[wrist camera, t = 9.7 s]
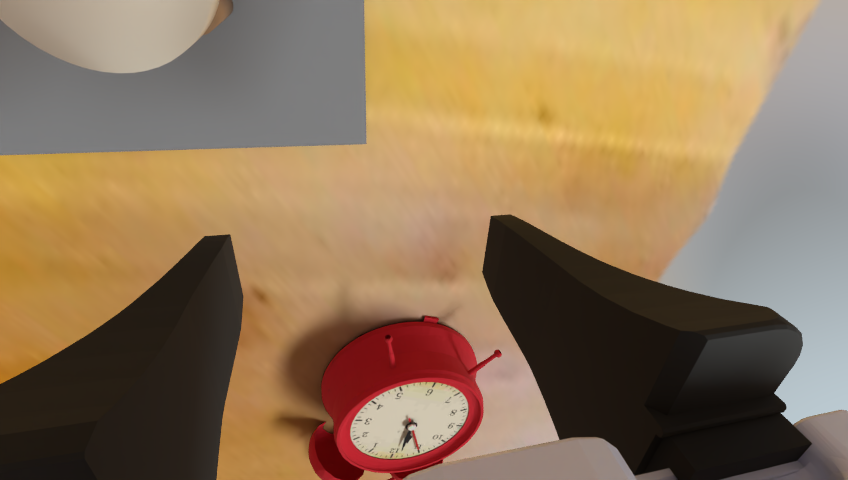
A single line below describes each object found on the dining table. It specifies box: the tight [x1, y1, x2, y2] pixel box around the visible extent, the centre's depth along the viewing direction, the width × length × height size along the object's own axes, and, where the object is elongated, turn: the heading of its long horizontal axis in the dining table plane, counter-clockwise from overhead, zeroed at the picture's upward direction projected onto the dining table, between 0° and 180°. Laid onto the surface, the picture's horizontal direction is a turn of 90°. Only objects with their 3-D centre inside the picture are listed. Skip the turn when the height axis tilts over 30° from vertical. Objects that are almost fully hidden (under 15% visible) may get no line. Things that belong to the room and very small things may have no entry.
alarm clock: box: [309, 316, 502, 480], centre depth 29 cm, size 10×6×15 cm
